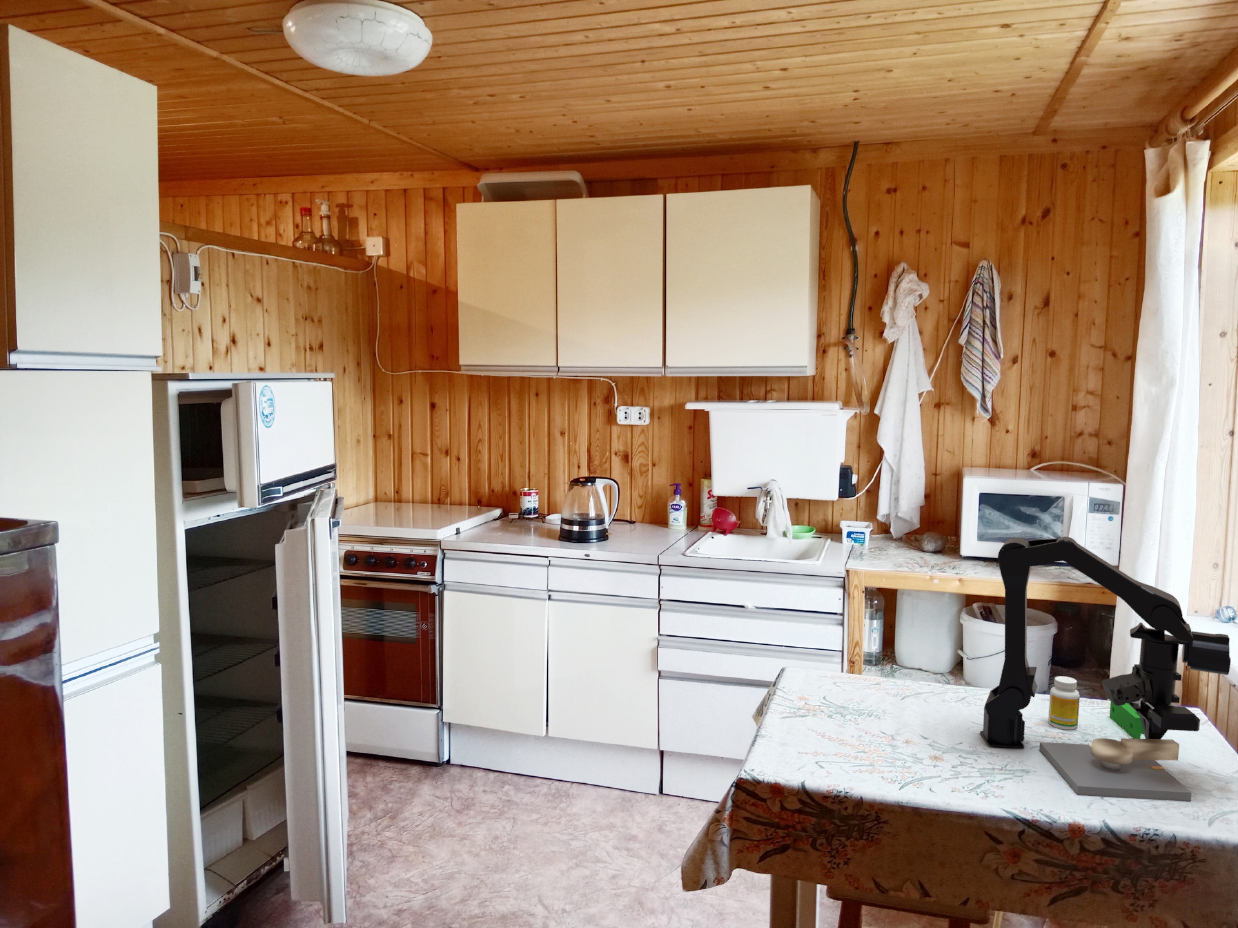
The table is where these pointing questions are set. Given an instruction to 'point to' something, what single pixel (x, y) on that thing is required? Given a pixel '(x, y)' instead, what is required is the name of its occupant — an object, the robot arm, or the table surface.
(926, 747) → the table surface
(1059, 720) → the supplement bottle
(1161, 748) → the beige long-handled part
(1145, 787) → the thin gray panel
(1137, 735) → the pipe clamp
